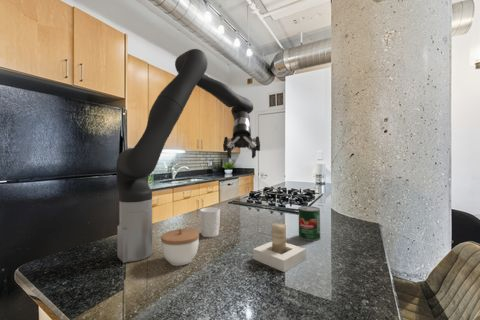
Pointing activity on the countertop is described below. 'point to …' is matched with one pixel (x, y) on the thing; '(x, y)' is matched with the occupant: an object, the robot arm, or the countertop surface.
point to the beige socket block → (279, 256)
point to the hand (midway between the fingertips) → (241, 156)
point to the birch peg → (279, 238)
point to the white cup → (210, 221)
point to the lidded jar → (180, 246)
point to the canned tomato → (309, 223)
